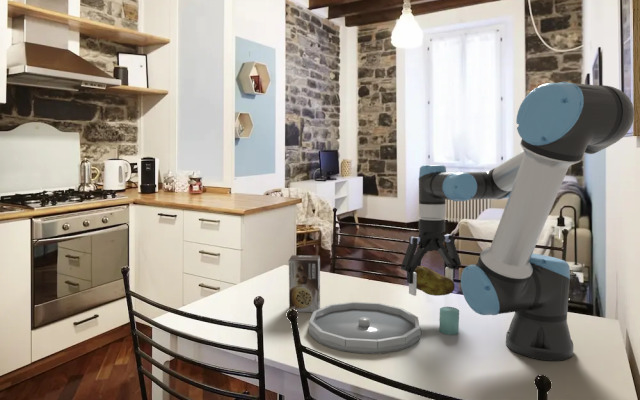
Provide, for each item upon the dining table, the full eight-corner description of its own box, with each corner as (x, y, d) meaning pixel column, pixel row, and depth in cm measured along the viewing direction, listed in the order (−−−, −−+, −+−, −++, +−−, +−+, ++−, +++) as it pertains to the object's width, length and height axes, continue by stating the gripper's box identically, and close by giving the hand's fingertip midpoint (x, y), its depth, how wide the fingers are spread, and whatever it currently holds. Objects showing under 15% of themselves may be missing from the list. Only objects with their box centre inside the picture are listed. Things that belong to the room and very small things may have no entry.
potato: (449, 300, 130) (449, 272, 130) (404, 294, 137) (404, 267, 136) (456, 293, 138) (456, 266, 137) (413, 288, 144) (414, 262, 143)
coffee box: (320, 306, 147) (321, 255, 145) (318, 313, 141) (318, 260, 139) (291, 304, 148) (291, 254, 146) (288, 311, 141) (288, 259, 140)
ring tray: (444, 342, 119) (444, 331, 119) (336, 361, 108) (336, 349, 108) (384, 306, 147) (384, 297, 146) (293, 318, 135) (293, 308, 135)
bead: (462, 333, 125) (463, 311, 125) (446, 336, 124) (447, 313, 123) (450, 326, 130) (451, 305, 129) (435, 329, 128) (436, 308, 128)
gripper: (457, 215, 144) (456, 285, 145) (388, 219, 135) (388, 293, 136) (474, 217, 137) (473, 290, 138) (402, 221, 128) (402, 300, 129)
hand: (431, 292), depth 137 cm, fingers closed on potato, 12 cm apart
